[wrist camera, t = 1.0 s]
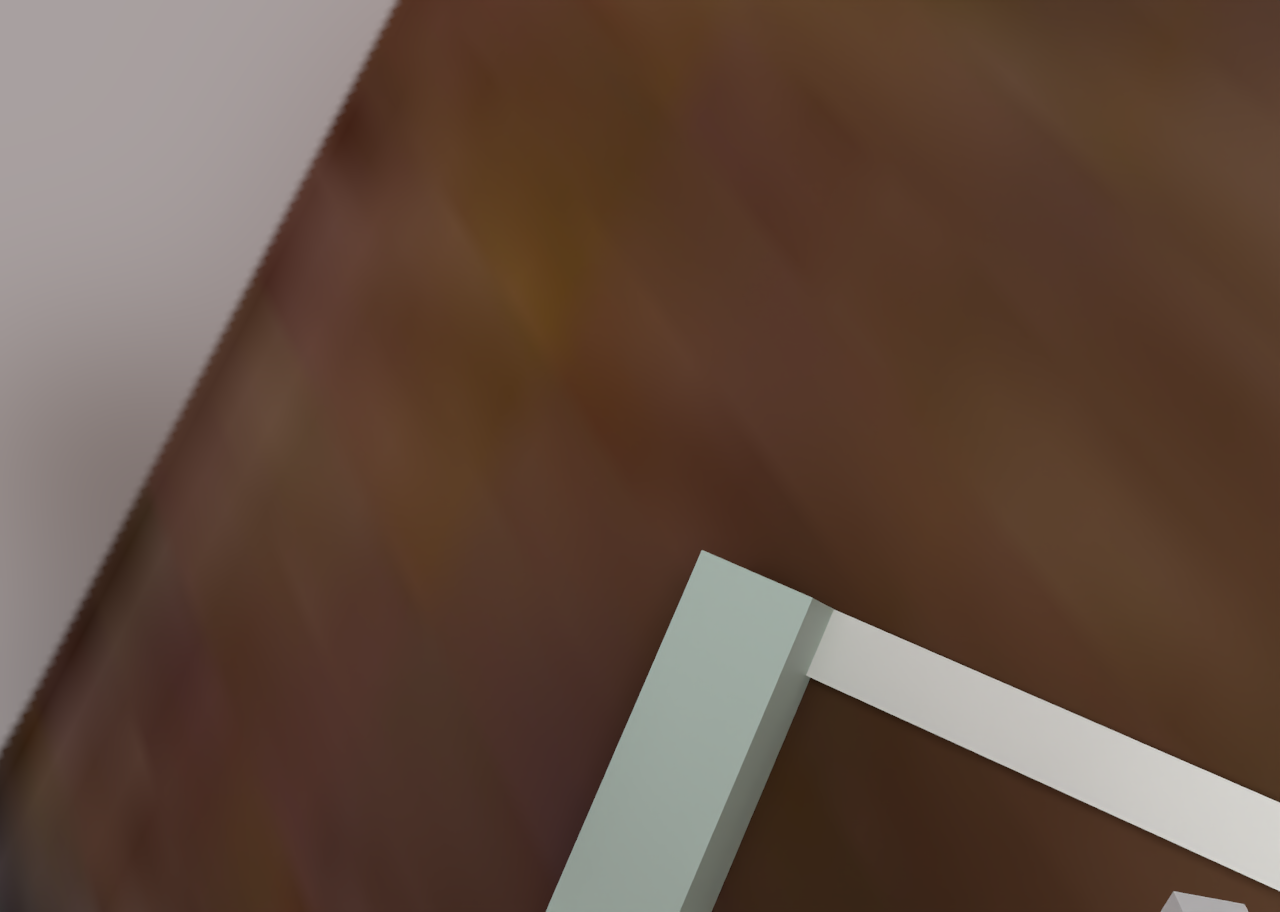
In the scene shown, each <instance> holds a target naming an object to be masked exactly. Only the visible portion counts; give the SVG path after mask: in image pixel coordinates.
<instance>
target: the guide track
mask: <svg viewBox="0 0 1280 912" xmlns="http://www.w3.org/2000/svg"><path fill="white" fill-rule="evenodd" d="M810 678H813V679H815V680H817V681H819V682H821V683H824V684H826V685H828V686H830V687H832V688H834V689H837V690H839V691H841V692H843V693H845V694H848V695H850V696H852V697H854V698H856V699H859V700H861V701H863V702H865V703H867V704H870V705H872V706H874V707H876V708H878V709H881V710H883V711H885V712H887V713H889V714H892V715H894V716H896V717H898V718H900V719H903V720H905V721H907V722H909V723H911V724H914V725H916V726H918V727H920V728H922V729H925V730H927V731H929V732H931V733H933V734H936V735H938V736H940V737H942V738H944V739H946V740H949V741H951V742H953V743H955V744H957V745H960V746H962V747H964V748H966V749H968V750H971V751H973V752H975V753H977V754H979V755H982V756H984V757H986V758H988V759H990V760H993V761H995V762H997V763H999V764H1001V765H1004V766H1006V767H1008V768H1010V769H1012V770H1015V771H1017V772H1019V773H1021V774H1023V775H1026V776H1028V777H1030V778H1032V779H1034V780H1037V781H1039V782H1041V783H1043V784H1045V785H1048V786H1050V787H1052V788H1054V789H1056V790H1059V791H1061V792H1063V793H1065V794H1067V795H1069V796H1072V797H1074V798H1076V799H1078V800H1080V801H1083V802H1085V803H1087V804H1089V805H1091V806H1094V807H1096V808H1098V809H1100V810H1102V811H1105V812H1107V813H1109V814H1111V815H1113V816H1116V817H1118V818H1120V819H1122V820H1124V821H1127V822H1129V823H1131V824H1133V825H1135V826H1138V827H1140V828H1142V829H1144V830H1146V831H1149V832H1151V833H1153V834H1155V835H1157V836H1160V837H1162V838H1164V839H1166V840H1168V841H1171V842H1173V843H1175V844H1177V845H1179V846H1182V847H1184V848H1186V849H1188V850H1190V851H1192V852H1195V853H1197V854H1199V855H1201V856H1203V857H1206V858H1208V859H1210V860H1212V861H1214V862H1217V863H1219V864H1221V865H1223V866H1225V867H1228V868H1230V869H1232V870H1234V871H1236V872H1239V873H1241V874H1243V875H1245V876H1247V877H1250V878H1252V879H1254V880H1256V881H1258V882H1261V883H1263V884H1265V885H1267V886H1269V887H1272V888H1274V889H1276V890H1278V891H1280V803H1279V802H1277V801H1275V800H1272V799H1270V798H1268V797H1265V796H1263V795H1261V794H1259V793H1256V792H1254V791H1252V790H1249V789H1247V788H1245V787H1242V786H1240V785H1238V784H1236V783H1233V782H1231V781H1229V780H1226V779H1224V778H1222V777H1219V776H1217V775H1215V774H1212V773H1210V772H1208V771H1206V770H1203V769H1201V768H1199V767H1196V766H1194V765H1192V764H1189V763H1187V762H1185V761H1182V760H1180V759H1178V758H1176V757H1173V756H1171V755H1169V754H1166V753H1164V752H1162V751H1159V750H1157V749H1155V748H1152V747H1150V746H1148V745H1146V744H1143V743H1141V742H1139V741H1136V740H1134V739H1132V738H1129V737H1127V736H1125V735H1123V734H1120V733H1118V732H1116V731H1113V730H1111V729H1109V728H1106V727H1104V726H1102V725H1099V724H1097V723H1095V722H1093V721H1090V720H1088V719H1086V718H1083V717H1081V716H1079V715H1076V714H1074V713H1072V712H1069V711H1067V710H1065V709H1063V708H1060V707H1058V706H1056V705H1053V704H1051V703H1049V702H1046V701H1044V700H1042V699H1040V698H1037V697H1035V696H1033V695H1030V694H1028V693H1026V692H1023V691H1021V690H1019V689H1016V688H1014V687H1012V686H1010V685H1007V684H1005V683H1003V682H1000V681H998V680H996V679H993V678H991V677H989V676H986V675H984V674H982V673H980V672H977V671H975V670H973V669H970V668H968V667H966V666H963V665H961V664H959V663H957V662H954V661H952V660H950V659H947V658H945V657H943V656H940V655H938V654H936V653H933V652H931V651H929V650H927V649H924V648H922V647H920V646H917V645H915V644H913V643H910V642H908V641H906V640H903V639H901V638H899V637H897V636H894V635H892V634H890V633H887V632H885V631H883V630H880V629H878V628H876V627H873V626H871V625H869V624H867V623H864V622H862V621H860V620H857V619H855V618H853V617H850V616H848V615H846V614H844V613H841V612H839V611H837V610H834V609H832V608H831V607H829V606H827V605H825V604H823V603H821V602H819V601H818V600H816V599H814V598H812V597H809V596H807V595H805V594H802V593H800V592H798V591H796V590H793V589H791V588H789V587H786V586H784V585H782V584H779V583H777V582H775V581H772V580H770V579H768V578H766V577H763V576H761V575H759V574H756V573H754V572H752V571H749V570H747V569H745V568H742V567H740V566H738V565H736V564H733V563H731V562H729V561H726V560H724V559H722V558H719V557H717V556H715V555H712V554H710V553H708V552H706V551H703V550H702V551H701V553H700V556H699V558H698V560H697V562H696V565H695V567H694V569H693V572H692V574H691V576H690V579H689V581H688V583H687V586H686V588H685V590H684V593H683V595H682V597H681V600H680V602H679V604H678V606H677V609H676V611H675V613H674V616H673V618H672V620H671V623H670V625H669V627H668V630H667V632H666V634H665V637H664V639H663V641H662V644H661V646H660V648H659V651H658V653H657V655H656V657H655V660H654V662H653V664H652V667H651V669H650V671H649V674H648V676H647V678H646V681H645V683H644V685H643V688H642V690H641V692H640V695H639V697H638V699H637V701H636V704H635V706H634V708H633V711H632V713H631V715H630V718H629V720H628V722H627V725H626V727H625V729H624V732H623V734H622V736H621V739H620V741H619V743H618V745H617V748H616V750H615V752H614V755H613V757H612V759H611V762H610V764H609V766H608V769H607V771H606V773H605V776H604V778H603V780H602V783H601V785H600V787H599V789H598V792H597V794H596V796H595V799H594V801H593V803H592V806H591V808H590V810H589V813H588V815H587V817H586V820H585V822H584V824H583V827H582V829H581V831H580V833H579V836H578V838H577V840H576V843H575V845H574V847H573V850H572V852H571V854H570V857H569V859H568V861H567V864H566V866H565V868H564V871H563V873H562V875H561V878H560V880H559V882H558V884H557V887H556V889H555V891H554V894H553V896H552V898H551V901H550V903H549V905H548V908H547V910H546V912H712V910H713V907H714V905H715V903H716V900H717V898H718V895H719V893H720V891H721V888H722V886H723V884H724V881H725V879H726V877H727V874H728V872H729V869H730V867H731V865H732V862H733V860H734V858H735V855H736V853H737V851H738V848H739V846H740V843H741V841H742V839H743V836H744V834H745V832H746V829H747V827H748V824H749V822H750V820H751V817H752V815H753V813H754V810H755V808H756V806H757V803H758V801H759V798H760V796H761V794H762V791H763V789H764V787H765V784H766V782H767V780H768V777H769V775H770V772H771V770H772V768H773V765H774V763H775V761H776V758H777V756H778V754H779V751H780V749H781V746H782V744H783V742H784V739H785V737H786V735H787V732H788V730H789V727H790V725H791V723H792V720H793V718H794V716H795V713H796V711H797V709H798V706H799V704H800V701H801V699H802V697H803V694H804V692H805V690H806V687H807V685H808V683H809V680H810Z"/></svg>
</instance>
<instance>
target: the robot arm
mask: <svg viewBox="0 0 1280 912" xmlns="http://www.w3.org/2000/svg"><path fill="white" fill-rule="evenodd" d="M1161 912H1248V910H1247V908H1246V906H1245V904H1241V903H1235V902H1230V901H1224V900H1219V899H1213V898H1208V897H1203V896H1197V895H1192V894H1186V893H1181V892H1175V891H1173V893H1172V894H1171V896H1170V898H1169V899H1168V901H1167V902H1166V904H1165V905H1164V907H1163V909H1162V910H1161Z"/></svg>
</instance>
